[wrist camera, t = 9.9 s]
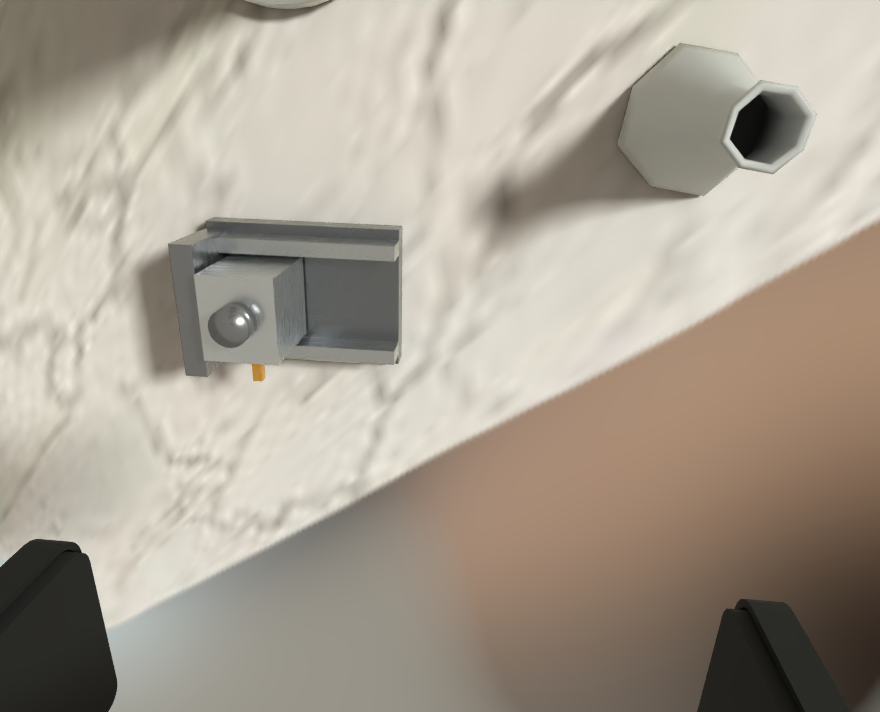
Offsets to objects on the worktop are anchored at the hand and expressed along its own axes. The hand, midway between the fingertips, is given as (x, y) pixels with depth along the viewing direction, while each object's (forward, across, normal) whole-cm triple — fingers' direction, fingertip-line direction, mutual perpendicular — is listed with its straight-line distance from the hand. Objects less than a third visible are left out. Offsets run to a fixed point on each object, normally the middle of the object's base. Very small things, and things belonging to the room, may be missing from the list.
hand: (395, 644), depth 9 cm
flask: (+29, -11, -7) cm, 31 cm away
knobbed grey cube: (+27, +11, +4) cm, 30 cm away
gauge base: (+28, +10, +3) cm, 30 cm away
